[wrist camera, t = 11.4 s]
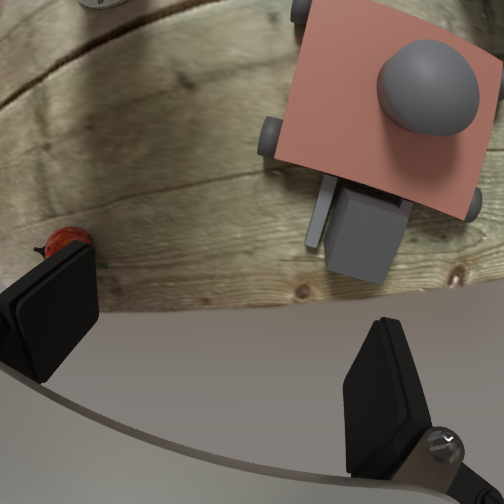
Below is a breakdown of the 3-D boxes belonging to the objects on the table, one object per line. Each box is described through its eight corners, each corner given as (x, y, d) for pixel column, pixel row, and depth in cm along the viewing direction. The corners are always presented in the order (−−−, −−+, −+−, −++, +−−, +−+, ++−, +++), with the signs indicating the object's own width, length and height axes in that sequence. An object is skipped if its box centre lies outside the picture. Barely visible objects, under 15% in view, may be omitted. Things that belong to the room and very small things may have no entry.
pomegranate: (120, 230, 38) (49, 202, 32) (118, 279, 34) (36, 252, 27) (97, 261, 42) (33, 238, 35) (94, 307, 37) (23, 286, 31)
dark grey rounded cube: (341, 182, 29) (349, 198, 23) (389, 197, 29) (408, 218, 23) (323, 239, 32) (326, 269, 25) (369, 253, 31) (382, 285, 25)
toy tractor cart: (299, -4, 23) (293, -47, 15) (496, 71, 21) (545, 62, 13) (245, 223, 33) (222, 258, 24) (434, 277, 31) (463, 323, 23)
